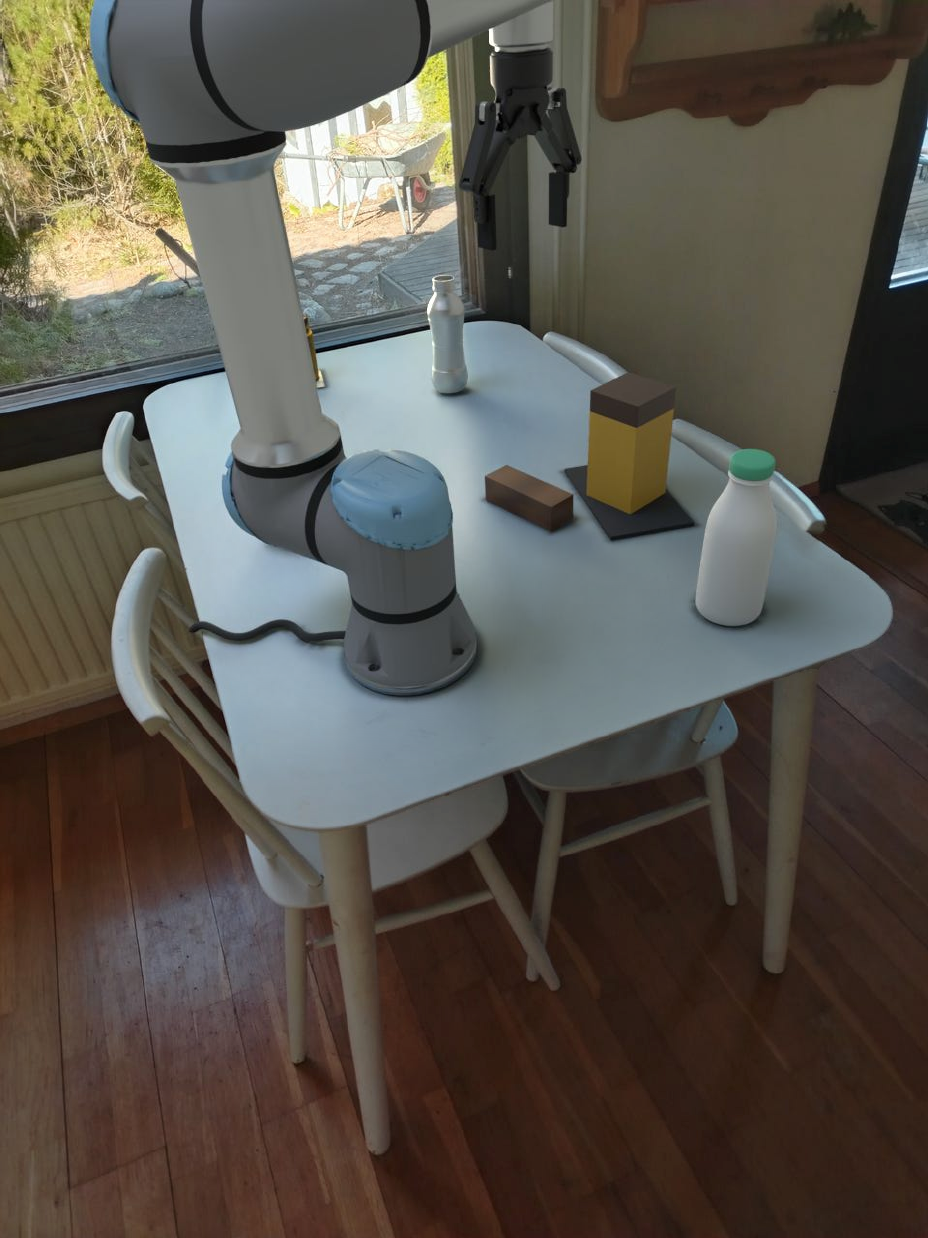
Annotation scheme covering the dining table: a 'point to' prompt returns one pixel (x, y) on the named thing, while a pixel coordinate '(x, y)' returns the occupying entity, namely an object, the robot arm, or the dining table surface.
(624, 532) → the mat
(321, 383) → the condiment
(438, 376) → the plastic bottle
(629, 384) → the tea tin
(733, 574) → the milk bottle
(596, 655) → the dining table surface
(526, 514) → the walnut block
